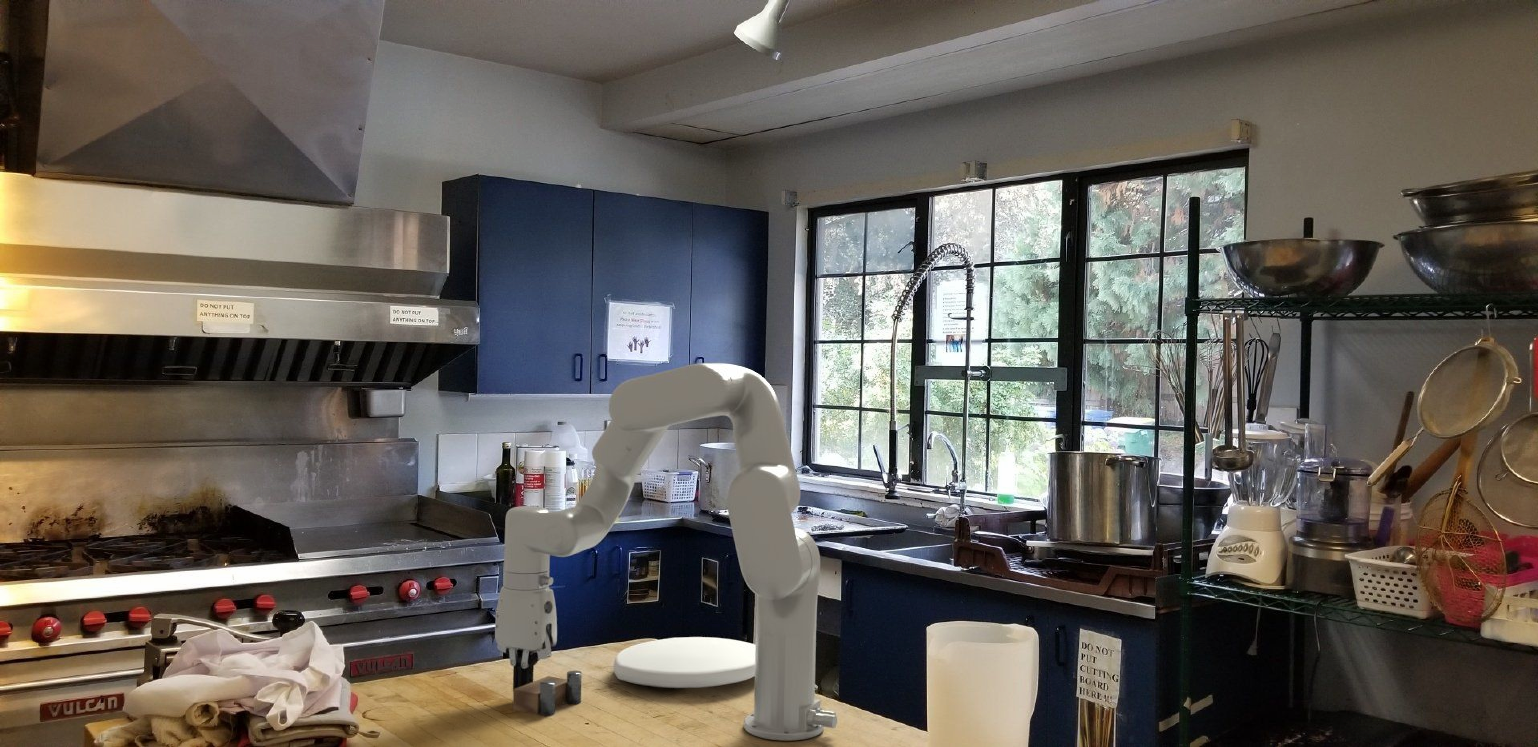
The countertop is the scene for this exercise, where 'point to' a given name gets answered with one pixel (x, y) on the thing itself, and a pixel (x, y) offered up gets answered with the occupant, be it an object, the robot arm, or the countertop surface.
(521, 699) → the block
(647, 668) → the white thick disc
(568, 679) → the bench dogs
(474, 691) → the countertop surface
